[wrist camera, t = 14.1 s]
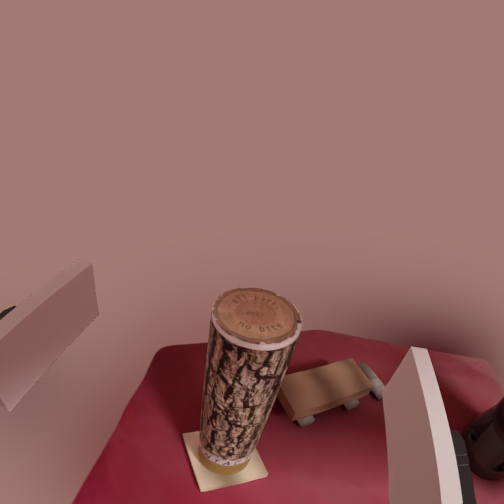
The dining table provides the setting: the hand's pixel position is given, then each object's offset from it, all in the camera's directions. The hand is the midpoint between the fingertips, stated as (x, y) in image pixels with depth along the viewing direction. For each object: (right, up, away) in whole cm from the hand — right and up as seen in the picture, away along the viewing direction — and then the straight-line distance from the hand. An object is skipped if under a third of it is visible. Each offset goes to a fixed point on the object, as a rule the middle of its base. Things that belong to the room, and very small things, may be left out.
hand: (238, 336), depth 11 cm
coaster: (-3, -24, +23) cm, 33 cm away
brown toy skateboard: (+14, -21, +35) cm, 43 cm away
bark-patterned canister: (-3, -24, +22) cm, 33 cm away
